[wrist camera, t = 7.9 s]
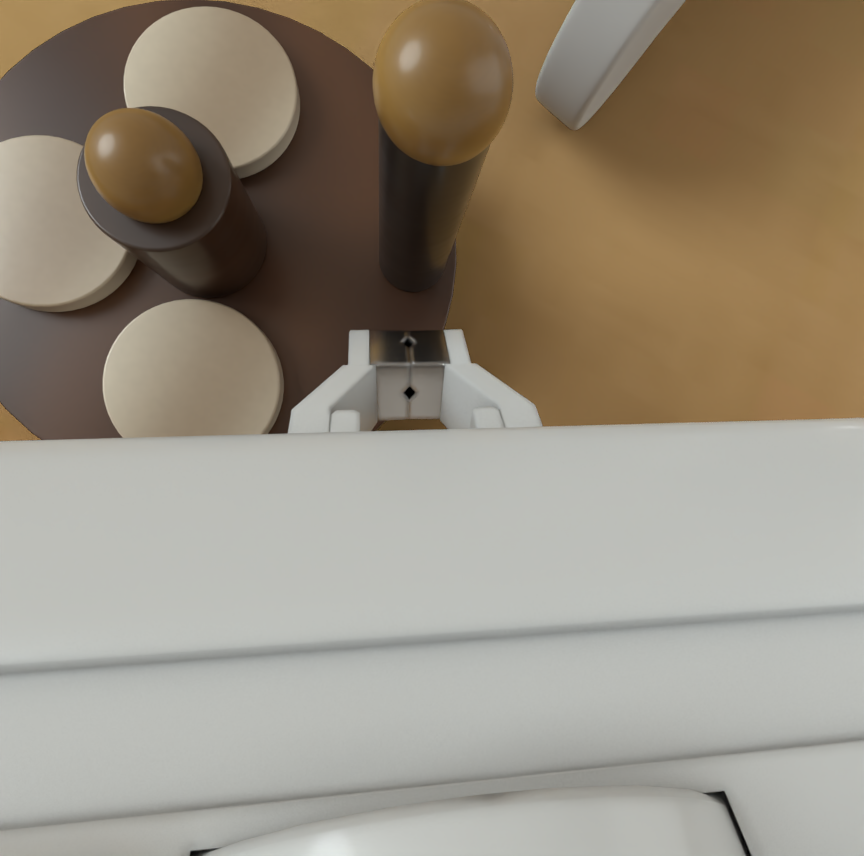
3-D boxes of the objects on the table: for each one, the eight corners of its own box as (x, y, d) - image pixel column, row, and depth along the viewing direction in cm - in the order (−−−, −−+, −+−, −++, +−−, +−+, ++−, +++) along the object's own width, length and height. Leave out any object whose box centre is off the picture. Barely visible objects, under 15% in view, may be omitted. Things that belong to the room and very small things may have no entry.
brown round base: (-52, 480, 16) (-840, 549, 6) (-13, -1, 17) (-667, -741, 6) (441, 498, 18) (530, 577, 7) (461, 58, 18) (570, -451, 8)
